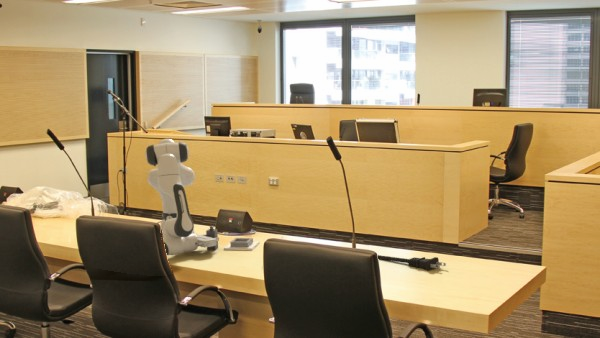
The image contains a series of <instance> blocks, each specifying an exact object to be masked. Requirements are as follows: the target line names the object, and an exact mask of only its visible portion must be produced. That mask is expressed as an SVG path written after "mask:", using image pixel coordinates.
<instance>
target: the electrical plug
mask: <svg viewBox="0 0 600 338" xmlns="http://www.w3.org/2000/svg"><path fill="white" fill-rule="evenodd" d="M377 255H378V258H379V259H378V260H383V261H389V262H390V261H392V262H397V263H405V264H406V263H407V264H408V267H415V268H416V269H425V270H426V271H427V272H430V271H432V270H435V269H440V268H441V266H442V267H446V265H447V263H446V262H443V261H442V262H441V261H439V257H437V256H435V257H432V258H426V257H425V256H424V257H423V256H422V257H412V258H401V257H395V256H386V255H379V254H377Z"/></svg>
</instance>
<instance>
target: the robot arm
mask: <svg viewBox="0 0 600 338" xmlns="http://www.w3.org/2000/svg"><path fill="white" fill-rule="evenodd" d="M189 155H190V149H189V147H188V144H187V143H185V142H182V141H179V142H175V141H174V140H173V139H170V138H164V139H162V140H160V141H159V143H157V144H151V145H148V146H147V147H146V150H145V153H144V156H145V160H146V161H147V164H149V165H150V166H153V167H156V166H157V167H156V168H152V169H151V170H149V172H148V173H147V177H146V178H147V179H146V180H147V182H148V184H149V186H150V187H152V188H153V189H154V190H155V191H157V193H158V195H160V198H161V203H162V204H161V205H162V215H161V217H162V220H161V221H160V229H161V228H162V231H163V238H164V244H165V249H166V253H167V255H166V256H176V255H181V254H182V253H189V252H193V251H196V250H197V249H198V247H200V248H207V247H211V246H215V245H216V241H218V242H219V241H220V238H219V237H215V238H211V237H207V236H206V233H205V234H199V233H194V232H195V229H194V228H195V224H194V220H193V218H192V216H191V214H190V210H189V209H190V208H189V204H188V199H187V194H186V191H185V187H187V186H191V185H193V183H194V182H195V178H196V174H195V172H194V170H193V169H192V168H191V167H188V166H186V165H185V164H183V163H185V162H187V160H188V159H189Z"/></svg>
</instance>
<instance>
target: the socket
mask: <svg viewBox="0 0 600 338" xmlns="http://www.w3.org/2000/svg"><path fill="white" fill-rule="evenodd" d="M260 243H261V242H260V241H254V238H253V237H235V238H234V239H232V240H230V242H229V243H228V244H227V245H225V246H224V247H223V250H224V251H253V250H254V249H255V248H257V247H258V246H259V245H260Z"/></svg>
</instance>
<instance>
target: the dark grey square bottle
mask: <svg viewBox="0 0 600 338" xmlns="http://www.w3.org/2000/svg"><path fill="white" fill-rule="evenodd" d="M205 234H206V236H207V237H211V238H215V237H218V236H219V235H218V229H217V228H214V225H210V226H209V228H208V229H207V230H205ZM206 249H207V250H206V251H216V250H218V249H219V241H216V245H215V246H211V247H206Z"/></svg>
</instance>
